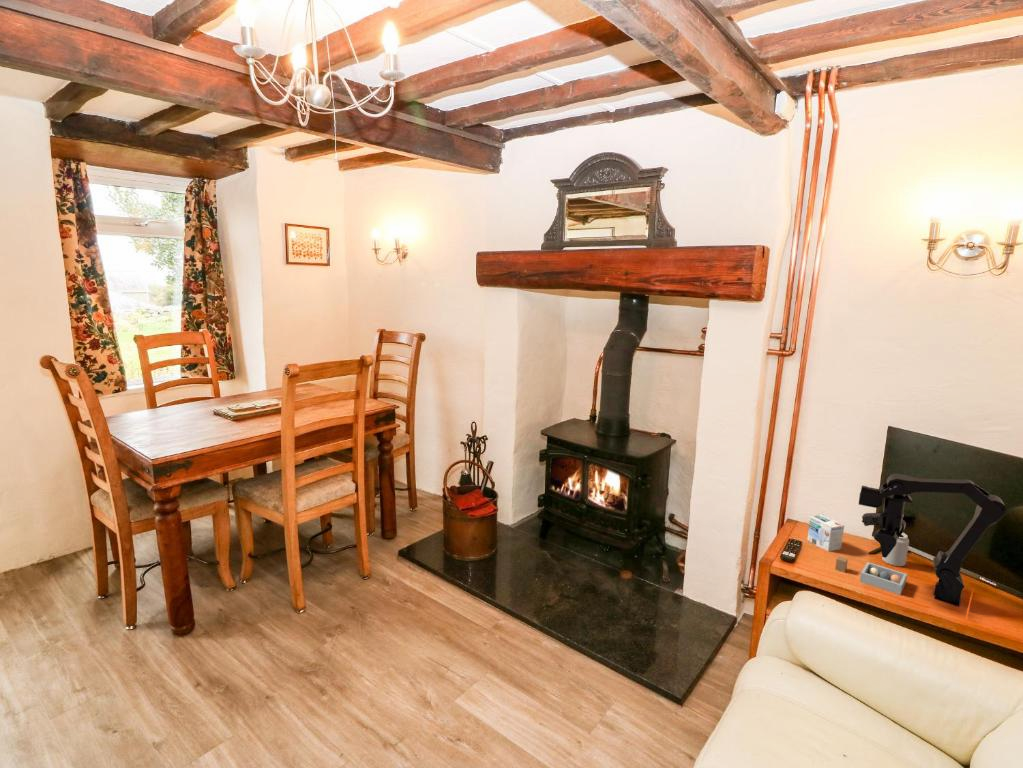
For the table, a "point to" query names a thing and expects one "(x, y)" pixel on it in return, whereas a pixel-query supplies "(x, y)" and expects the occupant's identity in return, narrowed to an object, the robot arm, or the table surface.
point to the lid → (841, 564)
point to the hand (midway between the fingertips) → (886, 552)
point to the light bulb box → (825, 533)
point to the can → (898, 552)
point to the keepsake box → (881, 582)
